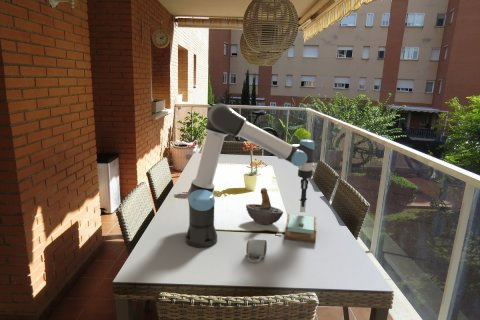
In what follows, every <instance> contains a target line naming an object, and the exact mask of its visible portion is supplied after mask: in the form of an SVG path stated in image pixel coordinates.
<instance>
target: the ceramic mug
mask: <svg viewBox="0 0 480 320" xmlns="http://www.w3.org/2000/svg"><path fill="white" fill-rule="evenodd" d="M267 243H268V242H267V240H266V239H252V238H251V239H248V240H247V243H246V250H245V251H246V255H247V260H248V262H250V263H252V264H257V263H259V262H261V260H262V259H265V258H266V257H267V249H268V244H267ZM250 257H252V258H258V259H254V260H252V259H251V258H250Z"/></svg>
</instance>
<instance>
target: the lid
mask: <svg viewBox="0 0 480 320" xmlns="http://www.w3.org/2000/svg"><path fill="white" fill-rule="evenodd" d="M314 217H315V216H309V215H308V216H307V215H299V214H297V215H296V214H289V223H288V231H292V232H301V233H309V234H314Z"/></svg>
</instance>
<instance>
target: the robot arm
mask: <svg viewBox="0 0 480 320" xmlns="http://www.w3.org/2000/svg"><path fill="white" fill-rule="evenodd" d="M204 129H205V131H206V132H207V134H206V138H205V139H204V140H205V141H204V145H203V148H202V153H201V156H200V160H199V164H198V168H197V173H196V177H195V179H192V181H191V183H190V188H189V189H188V192H187V195H186V197H187V198H186V199H187V202H188V212H189V213H188V216H189V217H188V220H189V221H188V223H189V225H188V228H187V231H186V232H185V233H186V234H185V238H184V239H185V243H186V244H187V245H188V246H190V247H193V248H208V247H211V246H215V244H217V243H218V233H217V230H216V227H215V203H216V198H215V194H214V190H215V185H214V183H213V182H214V179H215V175H216V170H217V167H218V163H219V158H220V156H221V152H222V147H223V144H224V141H225V137H227V136H229V135H231V136H232V137H234V138H235V137H240V138H242V139H244V140H246V141H247V142H250V143H251V144H253V145H255V146H258V147H259V148H262V149H263V150H265V151H267V152H270V153H271V154H273V155H275V156H276V157H277V159H278V160H284V161H287V162H288V163H290V164H292V165H293V166H295V167H298V169H297V177H299V178H301V179H300V189H301V192H300V193H301V195H300V198H299V201H300V206H299V212H300V213H306V204H307V203H306V202H307V200H308V198H307V190H308V187H309V179H311V178H313V171H314V170H313V169H314V166H315V163H314V157H315V156H314V155H315V148H316V147H315V146H316V144H315V141H314V140H312V139H301V140H300V141H299V143H295V144H293V143H288V142H286V141H285V140H283V139H281V138H279V137H278V136H275V135H273V134H272V133H269V132H267V131H266V130H264V129H262V128H259V127H258V126H256V125H254V124H253V123H250V122H249V121H247V119H246V117H244V116H242V115H241V114H239V113H238V112H237V111H235V110H234V109H233V108H232V107H230V106H229V105H227V104H224V103H215V104H214V105H212V106H211V107H210V108H209V109H208V112H207V121H206V125H205V128H204Z"/></svg>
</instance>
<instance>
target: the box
mask: <svg viewBox="0 0 480 320" xmlns="http://www.w3.org/2000/svg"><path fill="white" fill-rule="evenodd" d="M289 217H290V213H287V216H286V223H285V226H284V227H285V229H284V240H289V241H296V242H298V241H299V242H304V243H312V244H313V243H314V244H316V239H317V217H316V216H313V217H314V234H309V233H301V232H292V231H288V223H289Z"/></svg>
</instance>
